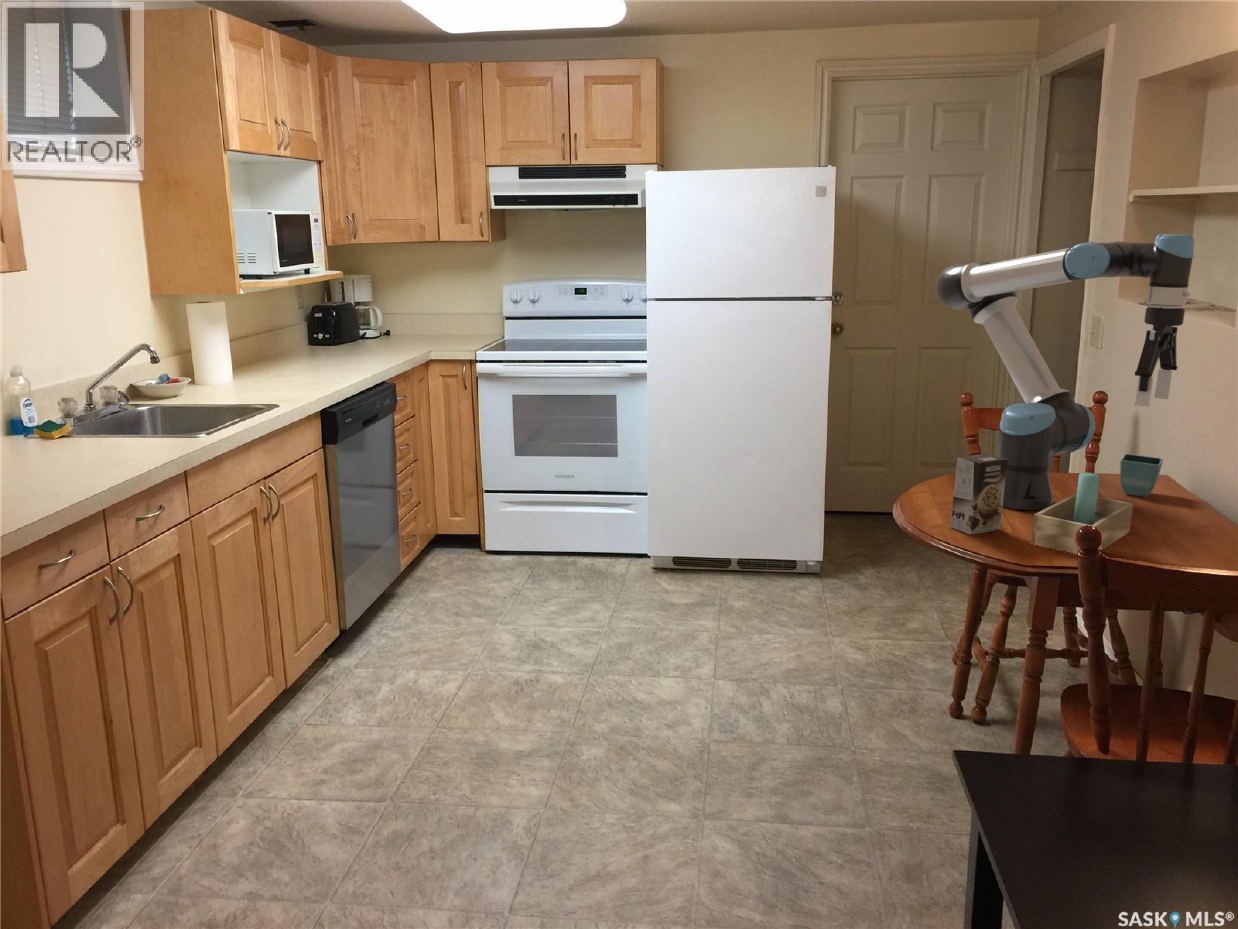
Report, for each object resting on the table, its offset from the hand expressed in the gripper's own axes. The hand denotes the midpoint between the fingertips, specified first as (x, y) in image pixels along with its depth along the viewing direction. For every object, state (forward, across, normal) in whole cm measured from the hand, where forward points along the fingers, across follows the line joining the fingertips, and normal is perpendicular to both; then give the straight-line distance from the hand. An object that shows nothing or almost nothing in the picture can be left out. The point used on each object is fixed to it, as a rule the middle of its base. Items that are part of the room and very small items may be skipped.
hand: (1151, 402), depth 221 cm
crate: (+27, -26, +3) cm, 37 cm away
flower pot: (+27, +21, +6) cm, 35 cm away
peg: (+27, -26, +3) cm, 37 cm away
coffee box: (+27, -36, +22) cm, 50 cm away
